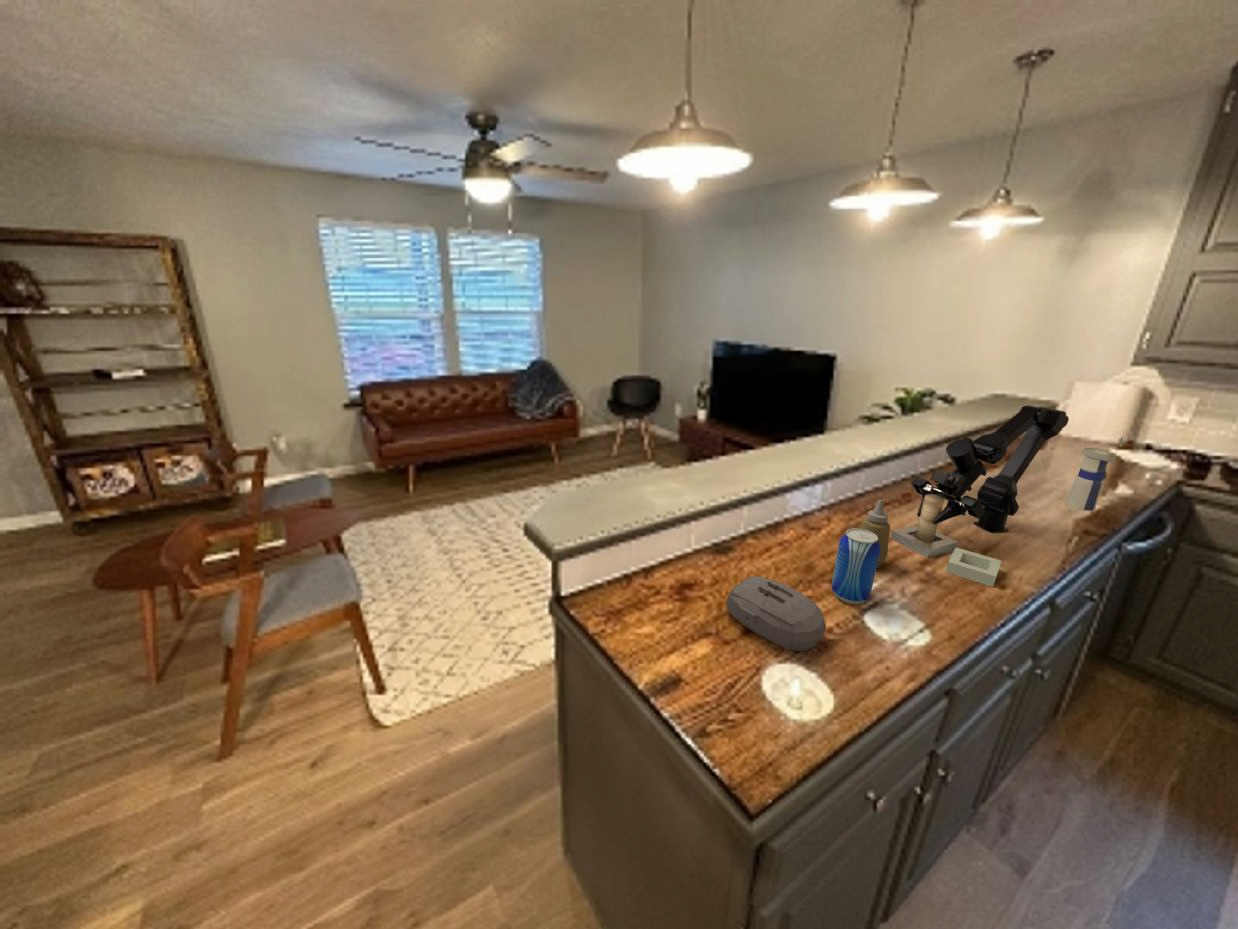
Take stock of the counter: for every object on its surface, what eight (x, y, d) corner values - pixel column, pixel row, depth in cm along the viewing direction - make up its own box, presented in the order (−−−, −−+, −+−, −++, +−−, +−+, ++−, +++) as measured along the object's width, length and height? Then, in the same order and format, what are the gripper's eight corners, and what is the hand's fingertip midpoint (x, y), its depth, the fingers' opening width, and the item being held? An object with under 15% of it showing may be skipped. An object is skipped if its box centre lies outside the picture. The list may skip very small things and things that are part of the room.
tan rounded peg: (922, 534, 142) (932, 493, 138) (937, 542, 138) (948, 499, 134) (911, 537, 141) (921, 495, 136) (925, 544, 137) (936, 502, 132)
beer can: (866, 610, 111) (880, 548, 105) (827, 598, 115) (838, 537, 110) (871, 592, 118) (884, 532, 112) (833, 581, 122) (844, 523, 116)
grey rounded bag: (716, 616, 109) (798, 668, 94) (719, 584, 106) (804, 632, 91) (757, 591, 118) (838, 634, 103) (761, 561, 115) (844, 601, 101)
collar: (953, 557, 133) (955, 547, 132) (998, 570, 127) (1001, 560, 126) (945, 571, 126) (948, 561, 125) (992, 587, 120) (996, 576, 119)
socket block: (919, 531, 147) (920, 524, 146) (956, 550, 137) (958, 542, 136) (890, 538, 143) (892, 530, 142) (927, 557, 133) (929, 549, 132)
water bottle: (1083, 500, 170) (1108, 431, 162) (1103, 511, 162) (1131, 438, 154) (1057, 499, 171) (1081, 430, 162) (1076, 510, 163) (1102, 437, 154)
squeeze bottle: (882, 558, 132) (896, 496, 126) (887, 573, 125) (901, 509, 119) (849, 553, 135) (861, 492, 129) (852, 568, 128) (865, 504, 122)
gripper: (922, 450, 141) (886, 491, 141) (989, 472, 125) (948, 518, 125) (935, 472, 147) (900, 511, 146) (1001, 496, 130) (962, 540, 130)
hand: (925, 519), depth 137 cm, fingers closed on tan rounded peg, 4 cm apart
